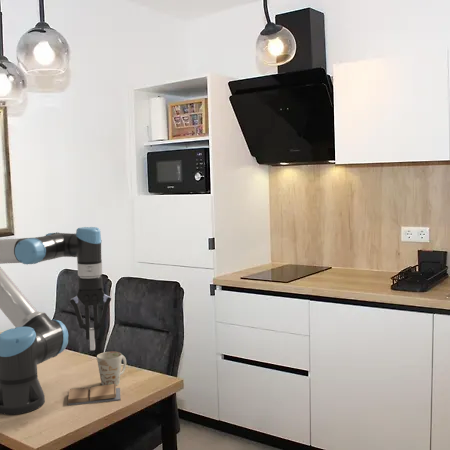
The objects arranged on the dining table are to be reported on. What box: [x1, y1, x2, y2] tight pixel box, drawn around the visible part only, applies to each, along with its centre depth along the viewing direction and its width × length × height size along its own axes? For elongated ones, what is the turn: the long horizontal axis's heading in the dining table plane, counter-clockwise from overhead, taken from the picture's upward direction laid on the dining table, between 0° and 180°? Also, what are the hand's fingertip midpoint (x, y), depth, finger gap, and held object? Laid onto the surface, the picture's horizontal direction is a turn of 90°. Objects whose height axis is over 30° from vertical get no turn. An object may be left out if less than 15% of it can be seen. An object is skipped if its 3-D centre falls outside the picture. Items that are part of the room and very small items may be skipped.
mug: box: [96, 351, 127, 386], centre depth 199 cm, size 8×13×10 cm, turn 152°
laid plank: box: [67, 387, 91, 404], centre depth 185 cm, size 6×9×1 cm
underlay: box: [67, 387, 121, 406], centre depth 186 cm, size 16×10×1 cm, turn 101°
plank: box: [89, 384, 117, 401], centre depth 187 cm, size 8×9×1 cm
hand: (92, 349), depth 185 cm, fingers closed
